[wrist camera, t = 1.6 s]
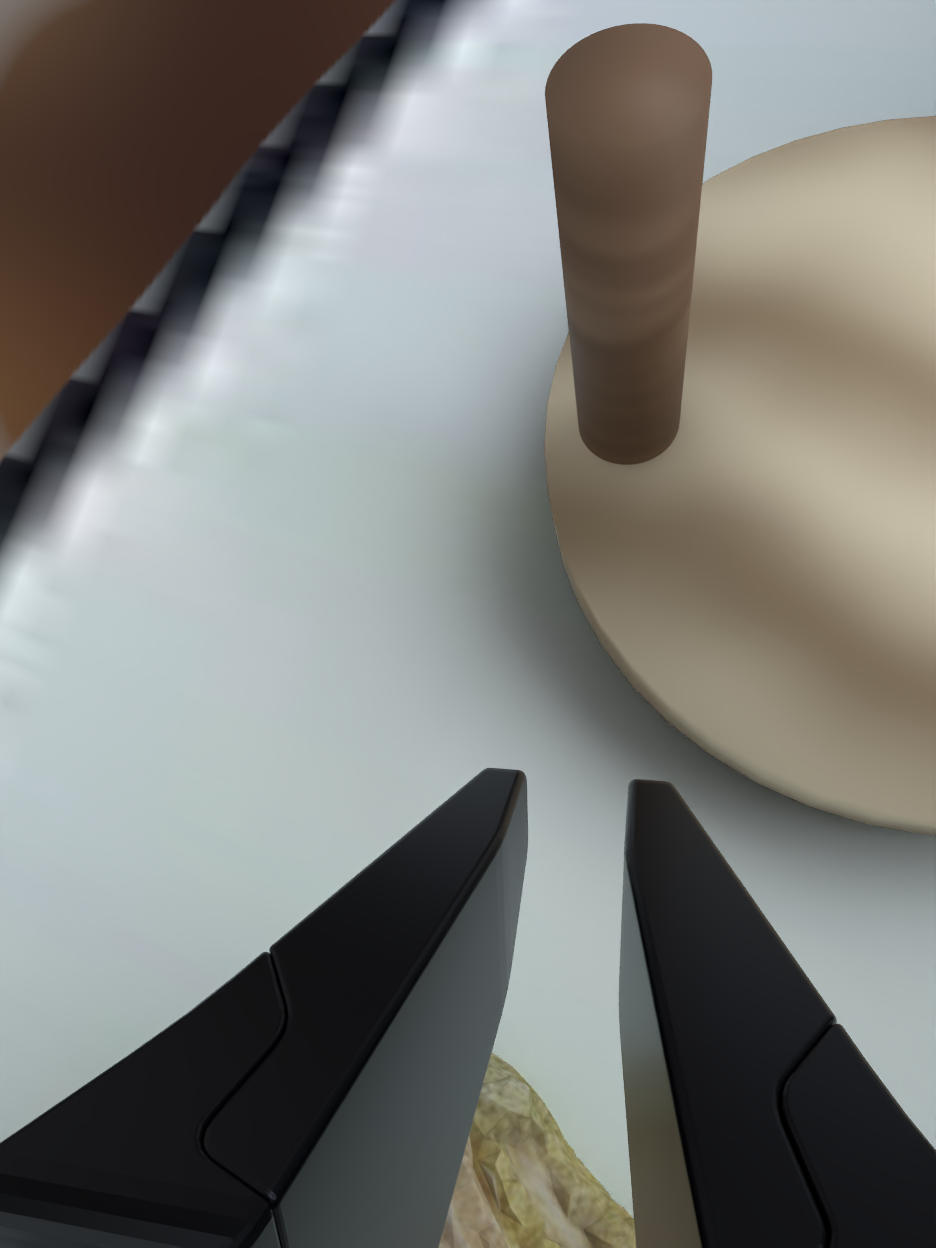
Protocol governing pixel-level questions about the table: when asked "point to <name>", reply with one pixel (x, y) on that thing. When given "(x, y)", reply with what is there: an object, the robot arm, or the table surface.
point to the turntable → (751, 426)
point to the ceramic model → (527, 1179)
